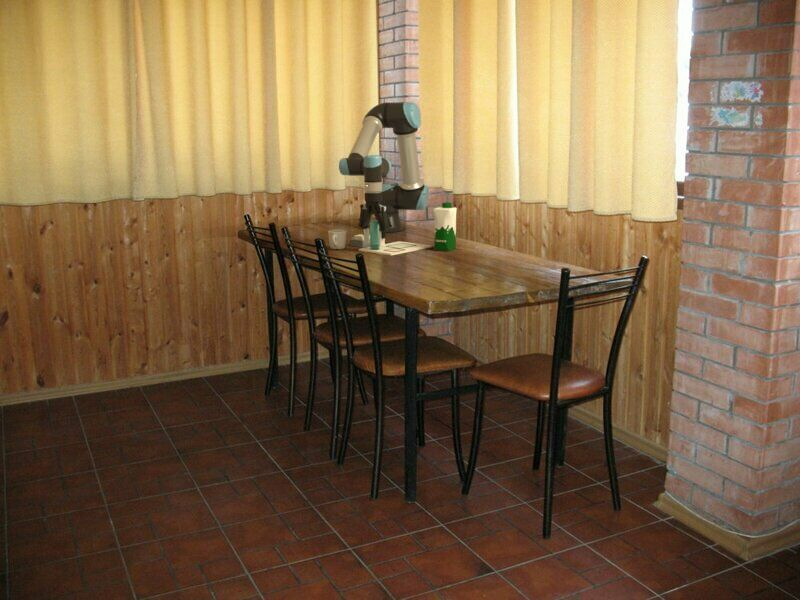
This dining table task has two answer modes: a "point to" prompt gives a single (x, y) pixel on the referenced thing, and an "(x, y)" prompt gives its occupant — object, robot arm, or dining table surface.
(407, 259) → the dining table surface
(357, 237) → the button
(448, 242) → the milk carton
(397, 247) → the picture board
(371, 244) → the teal cylinder
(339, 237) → the cup
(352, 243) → the button housing
